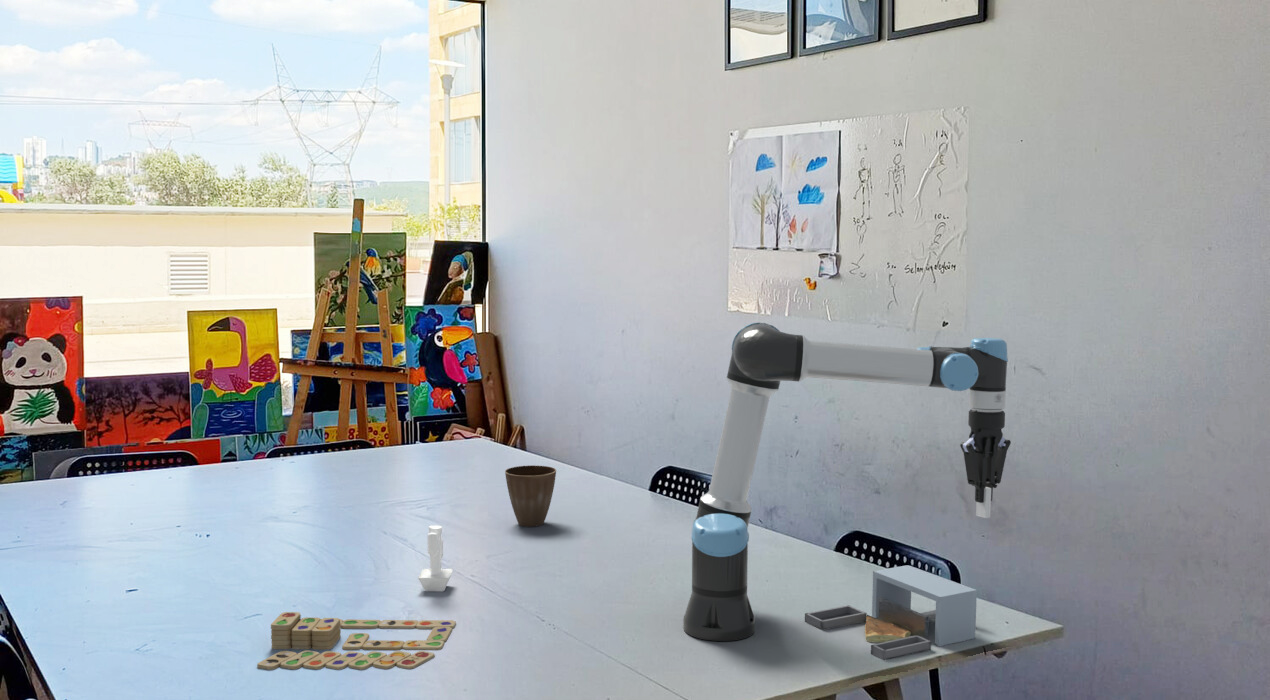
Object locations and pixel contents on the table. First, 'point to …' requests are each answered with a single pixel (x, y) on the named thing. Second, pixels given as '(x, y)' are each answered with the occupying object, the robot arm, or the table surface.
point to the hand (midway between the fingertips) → (983, 516)
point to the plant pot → (530, 493)
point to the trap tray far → (835, 617)
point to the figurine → (435, 563)
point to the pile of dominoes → (349, 643)
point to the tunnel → (950, 598)
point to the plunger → (905, 617)
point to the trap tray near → (900, 647)
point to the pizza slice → (883, 631)
